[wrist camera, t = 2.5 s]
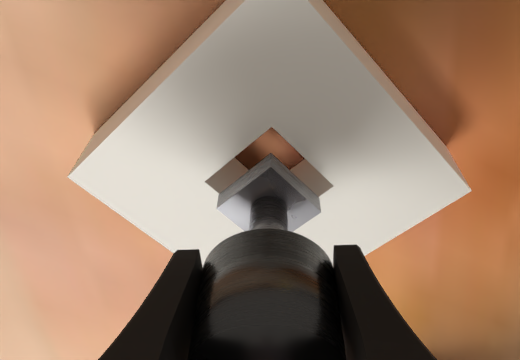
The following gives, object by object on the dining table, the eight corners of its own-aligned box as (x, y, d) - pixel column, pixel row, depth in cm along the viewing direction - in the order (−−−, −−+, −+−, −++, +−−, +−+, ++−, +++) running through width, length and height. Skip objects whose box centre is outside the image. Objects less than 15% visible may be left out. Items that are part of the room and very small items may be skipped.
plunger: (344, 198, 16) (381, 382, 11) (266, 251, 18) (263, 437, 12) (272, 129, 15) (270, 300, 9) (193, 193, 16) (152, 374, 11)
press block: (446, 146, 19) (471, 190, 17) (264, 267, 23) (263, 317, 21) (277, -53, 15) (278, -33, 13) (93, 134, 19) (67, 177, 17)
